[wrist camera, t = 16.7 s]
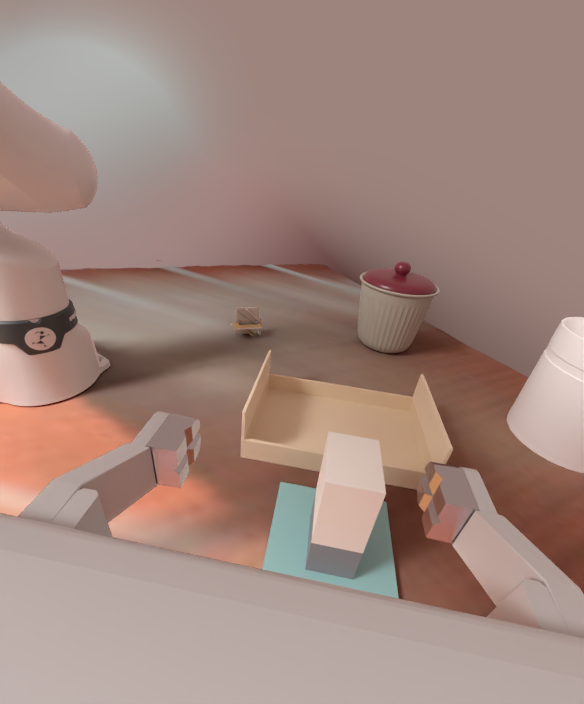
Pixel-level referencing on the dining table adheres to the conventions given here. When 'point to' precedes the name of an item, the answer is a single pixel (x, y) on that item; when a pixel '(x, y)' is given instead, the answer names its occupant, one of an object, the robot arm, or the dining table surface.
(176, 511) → the dining table surface
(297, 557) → the mat
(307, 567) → the box
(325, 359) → the dining table surface
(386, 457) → the beige open box
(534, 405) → the canister
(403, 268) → the canister
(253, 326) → the architectural model
